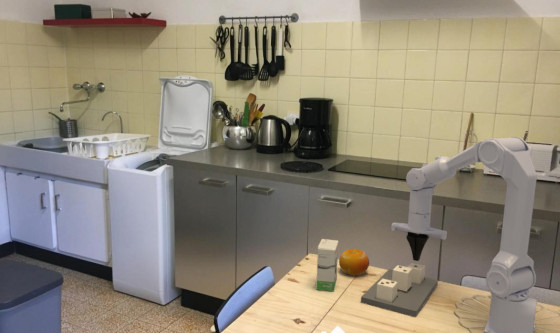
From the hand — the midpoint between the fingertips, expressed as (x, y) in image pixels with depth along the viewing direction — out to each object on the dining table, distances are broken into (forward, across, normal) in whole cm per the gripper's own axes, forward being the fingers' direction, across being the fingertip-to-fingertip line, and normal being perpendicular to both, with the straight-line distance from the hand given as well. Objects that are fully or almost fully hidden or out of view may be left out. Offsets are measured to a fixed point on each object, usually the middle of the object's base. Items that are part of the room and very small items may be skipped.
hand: (416, 259), depth 130 cm
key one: (+7, 0, 0) cm, 7 cm away
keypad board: (+7, +2, +8) cm, 11 cm away
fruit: (+8, +18, +2) cm, 19 cm away
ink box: (+8, +21, +14) cm, 26 cm away
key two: (+6, +2, +8) cm, 10 cm away
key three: (+7, +3, +15) cm, 17 cm away
